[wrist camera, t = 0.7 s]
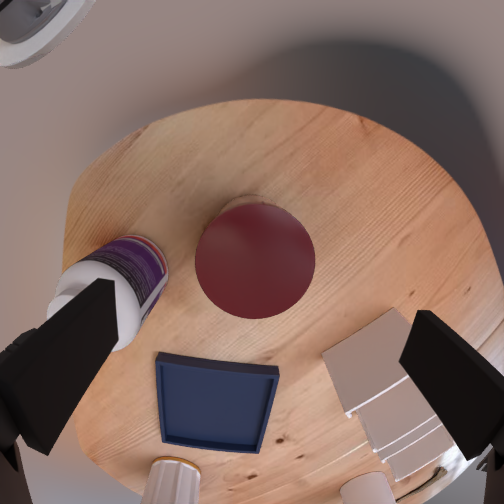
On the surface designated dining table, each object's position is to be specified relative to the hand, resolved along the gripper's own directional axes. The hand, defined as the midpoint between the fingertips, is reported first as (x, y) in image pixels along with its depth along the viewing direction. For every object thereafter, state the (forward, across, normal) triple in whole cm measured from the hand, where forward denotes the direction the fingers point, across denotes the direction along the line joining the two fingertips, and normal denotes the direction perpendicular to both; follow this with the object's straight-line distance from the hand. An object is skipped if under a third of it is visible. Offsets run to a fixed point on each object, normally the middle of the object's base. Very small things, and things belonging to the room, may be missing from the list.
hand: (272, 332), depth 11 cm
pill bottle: (+21, -12, -6) cm, 25 cm away
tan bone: (+20, +53, -63) cm, 85 cm away
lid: (+10, 0, 0) cm, 10 cm away
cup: (+20, -9, -45) cm, 50 cm away
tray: (+20, -2, -25) cm, 33 cm away
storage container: (+20, +23, -20) cm, 37 cm away
